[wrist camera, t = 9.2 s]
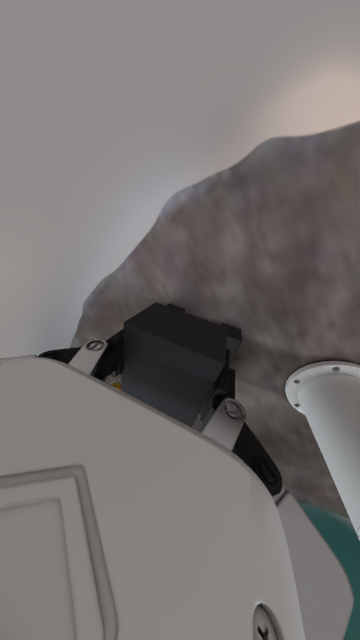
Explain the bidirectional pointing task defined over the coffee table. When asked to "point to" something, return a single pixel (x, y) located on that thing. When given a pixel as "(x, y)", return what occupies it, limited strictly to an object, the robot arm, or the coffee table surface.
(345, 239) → the coffee table surface
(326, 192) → the coffee table surface
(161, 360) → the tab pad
